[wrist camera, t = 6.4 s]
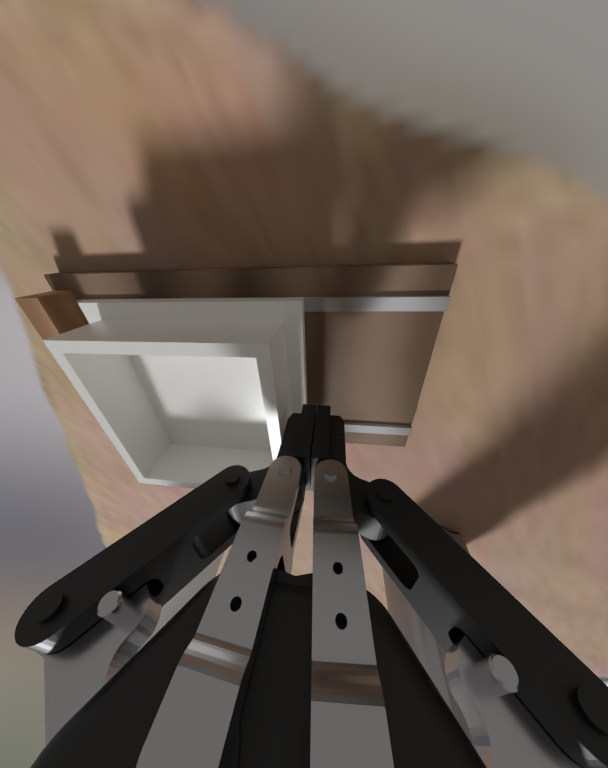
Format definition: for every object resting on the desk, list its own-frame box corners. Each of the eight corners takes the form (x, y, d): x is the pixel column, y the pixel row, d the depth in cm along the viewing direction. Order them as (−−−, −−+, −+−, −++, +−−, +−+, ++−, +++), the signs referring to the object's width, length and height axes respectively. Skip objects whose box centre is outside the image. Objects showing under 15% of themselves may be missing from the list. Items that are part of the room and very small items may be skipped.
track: (449, 262, 13) (480, 269, 10) (402, 438, 21) (412, 470, 18) (58, 272, 16) (-1, 280, 13) (140, 421, 24) (114, 446, 21)
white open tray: (308, 288, 13) (290, 320, 8) (312, 436, 20) (303, 506, 15) (124, 290, 15) (10, 319, 10) (183, 428, 21) (133, 489, 16)
